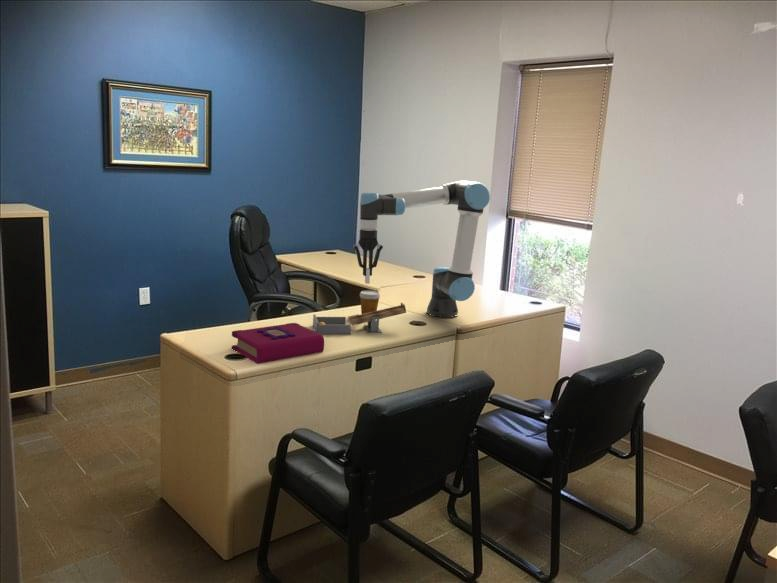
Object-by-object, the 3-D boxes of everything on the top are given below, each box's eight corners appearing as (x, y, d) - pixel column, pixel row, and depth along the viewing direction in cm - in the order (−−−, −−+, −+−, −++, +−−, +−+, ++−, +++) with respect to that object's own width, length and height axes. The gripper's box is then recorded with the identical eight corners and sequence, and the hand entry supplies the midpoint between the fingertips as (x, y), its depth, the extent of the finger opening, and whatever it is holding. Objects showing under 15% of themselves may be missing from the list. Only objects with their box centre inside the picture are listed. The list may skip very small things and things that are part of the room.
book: (324, 353, 244) (324, 334, 242) (257, 365, 226) (258, 344, 224) (294, 339, 259) (294, 321, 258) (230, 349, 241) (230, 329, 240)
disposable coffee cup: (379, 316, 302) (381, 291, 300) (377, 321, 293) (379, 295, 290) (359, 314, 303) (361, 289, 300) (356, 319, 294) (358, 293, 291)
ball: (315, 324, 274) (320, 329, 275) (316, 326, 271) (321, 331, 272) (321, 319, 274) (326, 325, 275) (322, 321, 271) (327, 327, 272)
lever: (400, 306, 288) (398, 299, 287) (406, 312, 277) (404, 305, 277) (347, 318, 284) (346, 311, 283) (352, 325, 273) (350, 317, 272)
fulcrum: (376, 326, 284) (377, 311, 283) (382, 333, 274) (383, 318, 273) (363, 326, 283) (364, 311, 282) (368, 333, 273) (369, 318, 271)
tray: (345, 325, 282) (345, 314, 281) (350, 334, 270) (350, 322, 268) (312, 325, 279) (313, 314, 278) (316, 334, 266) (316, 322, 265)
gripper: (381, 228, 282) (379, 280, 288) (352, 228, 279) (351, 281, 285) (385, 230, 275) (383, 284, 281) (355, 230, 272) (354, 285, 277)
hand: (367, 282), depth 283 cm, fingers closed
